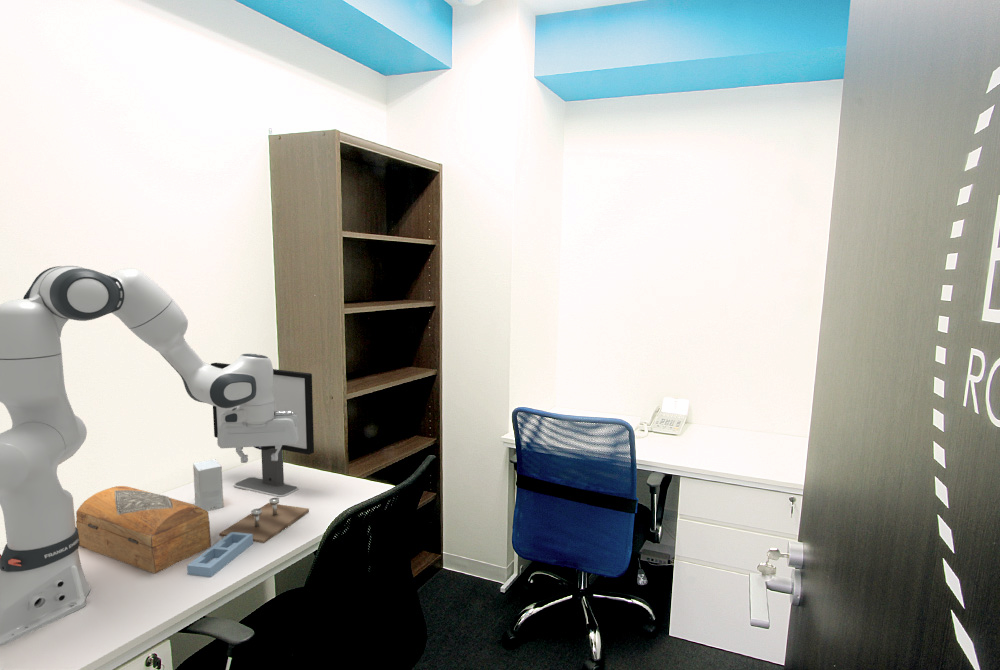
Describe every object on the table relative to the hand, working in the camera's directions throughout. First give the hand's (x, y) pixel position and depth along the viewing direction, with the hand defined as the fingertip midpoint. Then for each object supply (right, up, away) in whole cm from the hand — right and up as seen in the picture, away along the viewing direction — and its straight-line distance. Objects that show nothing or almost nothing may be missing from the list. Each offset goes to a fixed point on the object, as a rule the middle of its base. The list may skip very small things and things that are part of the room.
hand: (259, 461), depth 151 cm
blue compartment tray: (-3, -21, -16) cm, 26 cm away
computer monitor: (-11, -16, +29) cm, 35 cm away
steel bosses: (0, -19, +4) cm, 19 cm away
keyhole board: (0, -19, +4) cm, 19 cm away
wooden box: (-24, -20, -10) cm, 33 cm away
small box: (-22, -17, +15) cm, 32 cm away
